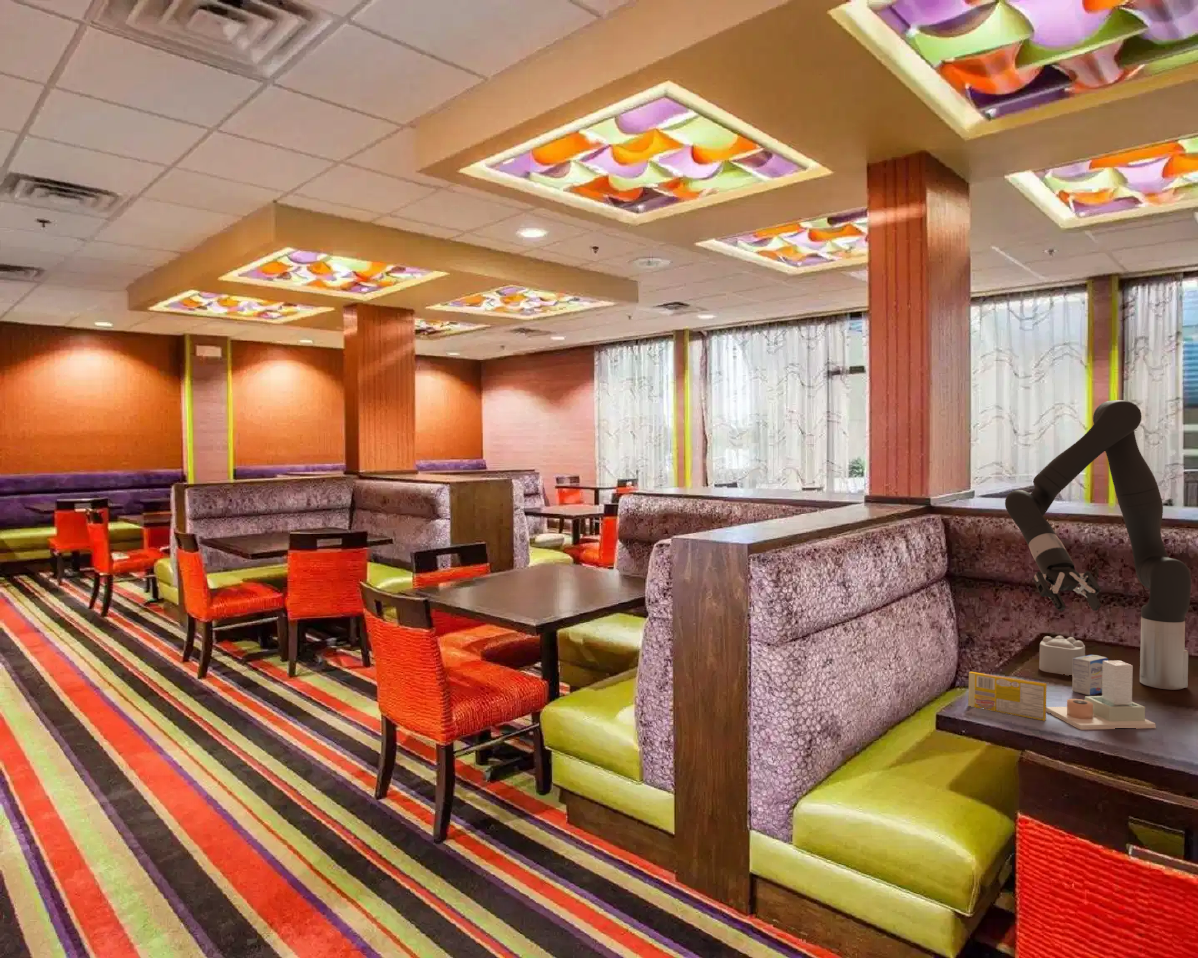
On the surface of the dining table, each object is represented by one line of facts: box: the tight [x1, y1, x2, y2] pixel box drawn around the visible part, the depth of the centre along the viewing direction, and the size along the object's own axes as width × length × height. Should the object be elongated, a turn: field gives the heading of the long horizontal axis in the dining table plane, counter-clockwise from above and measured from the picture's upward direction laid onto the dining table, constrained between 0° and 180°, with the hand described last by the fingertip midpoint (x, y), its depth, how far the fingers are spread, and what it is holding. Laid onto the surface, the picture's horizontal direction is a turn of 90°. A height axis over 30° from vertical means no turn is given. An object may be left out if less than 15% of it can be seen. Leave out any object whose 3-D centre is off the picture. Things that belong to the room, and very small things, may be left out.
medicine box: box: [1071, 654, 1109, 696], centre depth 196 cm, size 8×4×9 cm, turn 117°
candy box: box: [967, 671, 1048, 722], centre depth 180 cm, size 16×2×8 cm, turn 50°
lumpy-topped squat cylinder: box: [1038, 635, 1086, 676], centre depth 217 cm, size 10×13×9 cm
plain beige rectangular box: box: [1101, 660, 1134, 707], centre depth 175 cm, size 4×4×12 cm
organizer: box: [1046, 695, 1157, 731], centre depth 175 cm, size 17×12×4 cm
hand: (1080, 609), depth 187 cm, fingers open, 8 cm apart
